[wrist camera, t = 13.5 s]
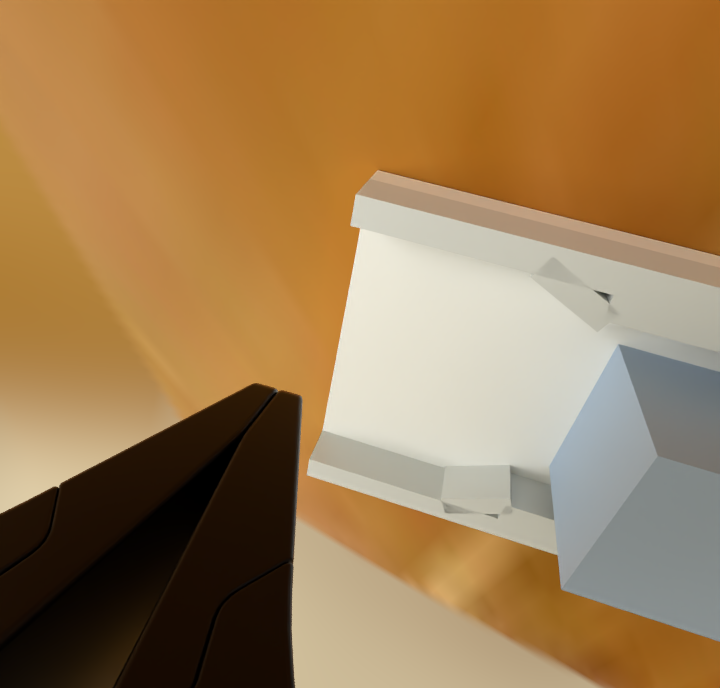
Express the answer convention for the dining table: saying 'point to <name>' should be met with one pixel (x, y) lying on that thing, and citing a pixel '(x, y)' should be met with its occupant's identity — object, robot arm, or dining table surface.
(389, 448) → the board
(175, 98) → the dining table surface
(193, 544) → the robot arm
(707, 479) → the block
